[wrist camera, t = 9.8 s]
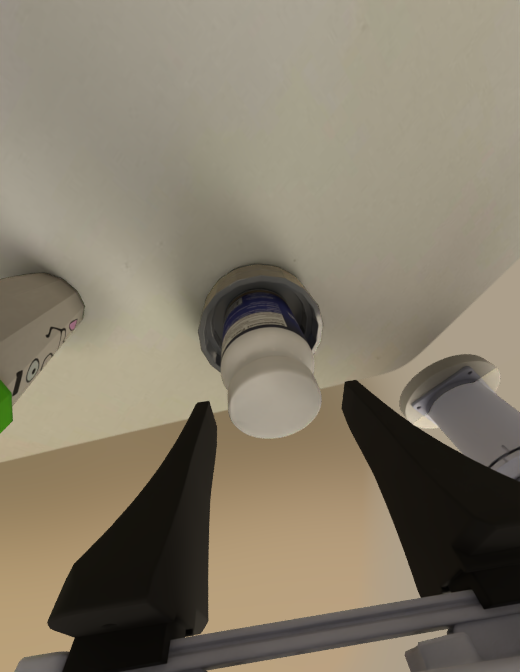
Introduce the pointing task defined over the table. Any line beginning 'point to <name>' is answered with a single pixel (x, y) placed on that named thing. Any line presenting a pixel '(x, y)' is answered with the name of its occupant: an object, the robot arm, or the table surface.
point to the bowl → (249, 280)
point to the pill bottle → (267, 367)
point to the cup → (32, 330)
